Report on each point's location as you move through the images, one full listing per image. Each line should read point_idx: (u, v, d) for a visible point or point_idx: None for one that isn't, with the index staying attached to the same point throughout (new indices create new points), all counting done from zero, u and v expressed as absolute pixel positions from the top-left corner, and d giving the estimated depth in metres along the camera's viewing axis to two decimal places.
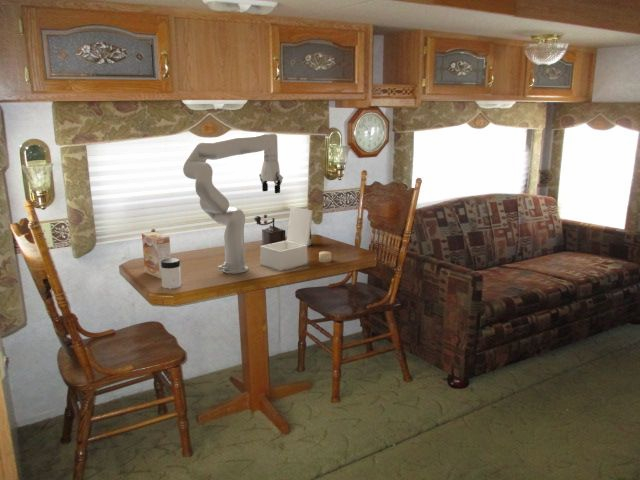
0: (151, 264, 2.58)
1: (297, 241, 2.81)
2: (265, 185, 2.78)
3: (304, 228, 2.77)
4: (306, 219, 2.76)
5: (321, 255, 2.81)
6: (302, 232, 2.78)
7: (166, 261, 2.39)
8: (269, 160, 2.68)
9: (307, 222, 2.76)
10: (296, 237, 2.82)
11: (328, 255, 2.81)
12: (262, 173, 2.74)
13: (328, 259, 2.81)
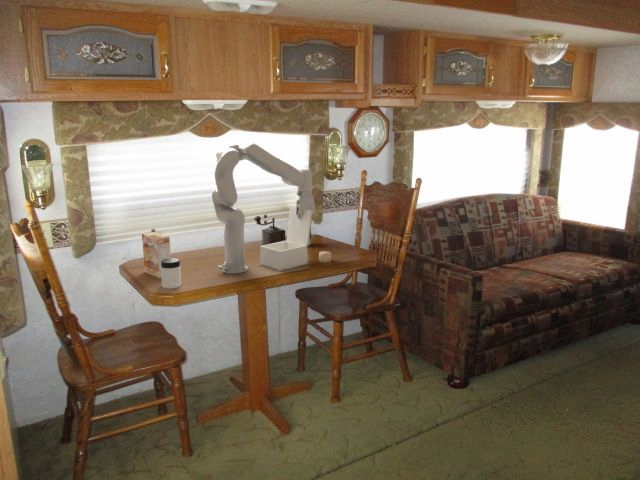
0: (151, 264, 2.58)
1: (297, 241, 2.81)
2: None
3: (304, 228, 2.77)
4: (306, 219, 2.76)
5: (321, 255, 2.81)
6: (302, 232, 2.78)
7: (166, 261, 2.39)
8: (311, 195, 2.80)
9: (307, 222, 2.76)
10: (296, 237, 2.81)
11: (328, 255, 2.81)
12: (303, 209, 2.77)
13: (328, 259, 2.81)
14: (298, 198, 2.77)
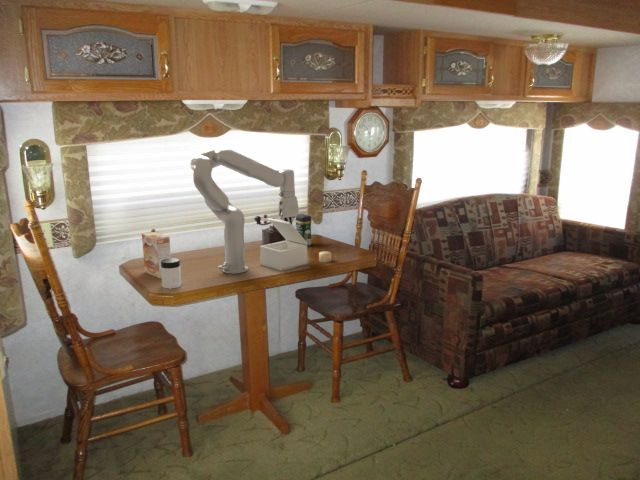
0: (151, 264, 2.58)
1: (296, 242, 2.81)
2: None
3: (294, 234, 2.73)
4: (290, 228, 2.69)
5: (321, 255, 2.81)
6: (295, 237, 2.75)
7: (166, 261, 2.39)
8: (294, 195, 2.71)
9: (292, 231, 2.70)
10: (293, 239, 2.80)
11: (328, 255, 2.81)
12: (286, 210, 2.69)
13: (328, 259, 2.81)
14: (280, 199, 2.69)
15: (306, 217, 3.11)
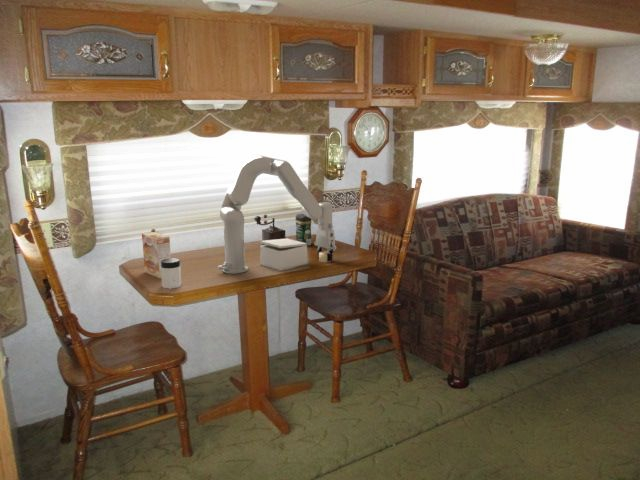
0: (151, 264, 2.58)
1: (295, 242, 2.81)
2: None
3: None
4: None
5: (321, 255, 2.81)
6: None
7: (166, 261, 2.39)
8: None
9: None
10: None
11: None
12: None
13: None
14: (331, 231, 2.77)
15: (306, 217, 3.11)
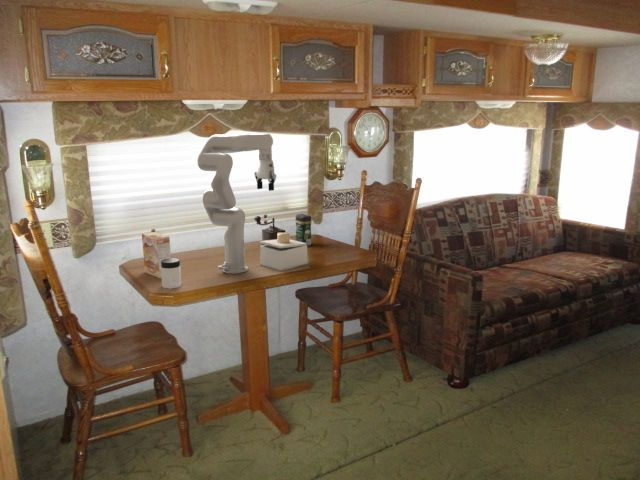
0: (151, 264, 2.58)
1: (295, 242, 2.81)
2: None
3: None
4: None
5: (279, 235, 2.72)
6: None
7: (166, 261, 2.39)
8: None
9: None
10: None
11: (286, 236, 2.72)
12: None
13: (286, 240, 2.72)
14: (270, 161, 2.81)
15: (306, 217, 3.11)
